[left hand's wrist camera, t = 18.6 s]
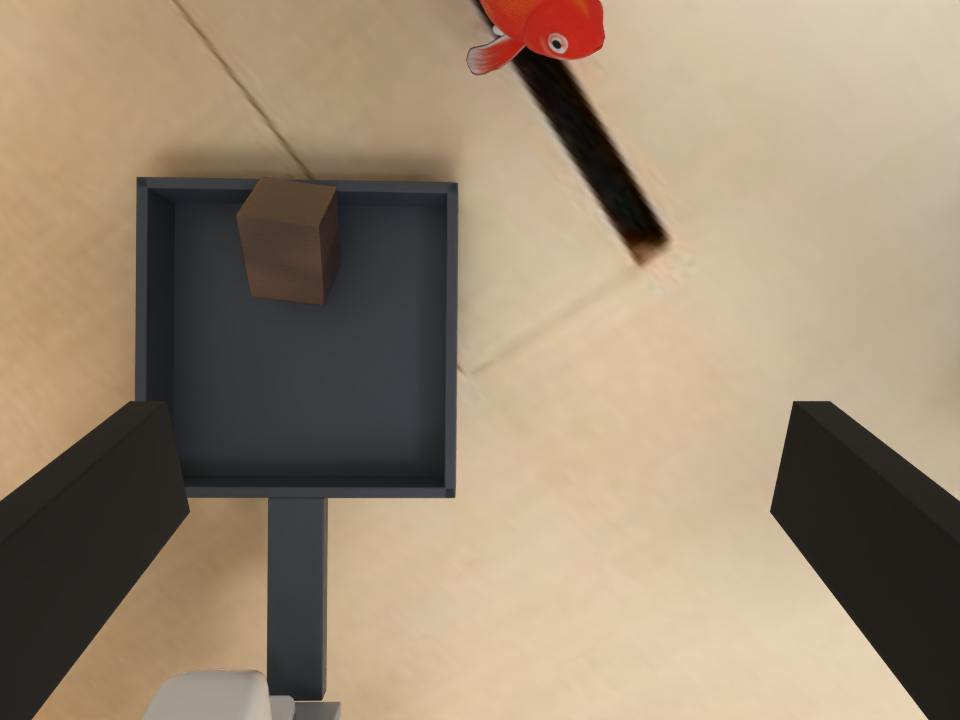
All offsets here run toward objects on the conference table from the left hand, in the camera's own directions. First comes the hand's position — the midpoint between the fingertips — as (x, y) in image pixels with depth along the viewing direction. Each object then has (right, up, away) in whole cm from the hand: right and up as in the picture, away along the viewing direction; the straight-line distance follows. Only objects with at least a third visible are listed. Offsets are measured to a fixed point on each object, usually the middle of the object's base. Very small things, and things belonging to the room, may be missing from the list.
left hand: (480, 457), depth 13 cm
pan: (-10, -3, +23) cm, 25 cm away
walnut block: (-10, +7, +21) cm, 24 cm away
